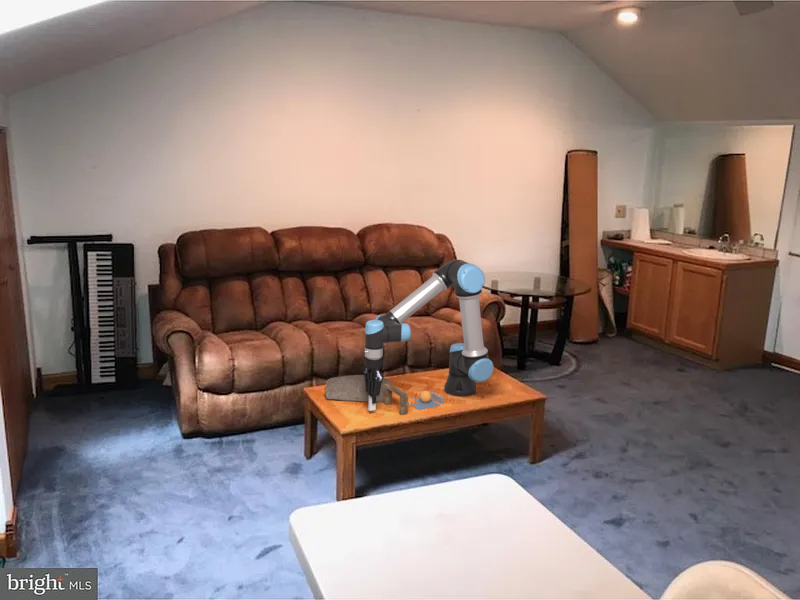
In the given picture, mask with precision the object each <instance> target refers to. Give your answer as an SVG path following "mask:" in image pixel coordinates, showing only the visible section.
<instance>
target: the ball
mask: <svg viewBox="0 0 800 600" xmlns="http://www.w3.org/2000/svg"><path fill="white" fill-rule="evenodd" d="M429 391H430V390H422V391H421V392H420V393H419V397H420V400H421V401H422V402H424V403H428V402H429V401H430V400H432V395H431V393H430V392H429Z"/></svg>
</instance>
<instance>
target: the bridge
mask: <svg viewBox="0 0 800 600" xmlns="http://www.w3.org/2000/svg"><path fill="white" fill-rule="evenodd" d="M393 393H394V394H396V395H397V396H399V403H398V405H399V410H398V414H400V416H404V415H409V414H408V413H409V411H408V410H409V409H408V408H409V404H408V399H409V393H408V392H406V391H405V390H403V389H401V388H399V387H397V386H396V385H394V384H392V382H391V383H389V384H384V402H383V404H384V405H385V406H390V405H392V403H393ZM389 404H390V405H389Z"/></svg>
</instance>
